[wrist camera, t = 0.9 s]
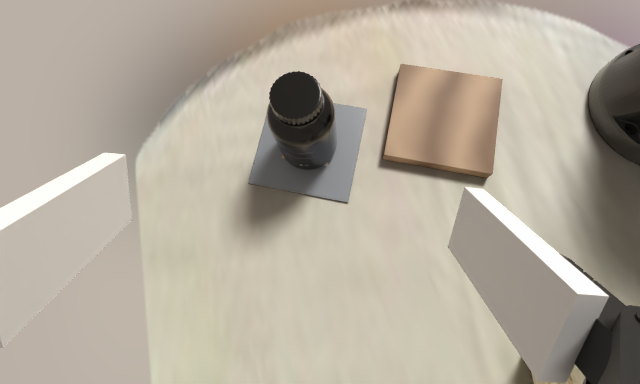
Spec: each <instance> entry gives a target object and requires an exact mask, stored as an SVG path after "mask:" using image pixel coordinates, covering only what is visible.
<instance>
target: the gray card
mask: <svg viewBox="0 0 640 384" xmlns="http://www.w3.org/2000/svg"><path fill="white" fill-rule="evenodd" d="M333 104H334V109H335V118H336V132H337V146H336V151H335V153H334V155H333V157H332V158H331V159H330V161H329V162H327V163H326V164H325V165H323V166H322V167H320V168H317V169H313V170H303V169H299V168H296V167H294V166H292V165H291V164H290V163H289V162H288V161H287V160H286V159H285V158H284V156H283V154H282V153H281V151H280V149H279V147H278V145H277V143H276V141H275V139H274V137H273V135H272V133H271V131H270V128H269V126H268V122H267V116H266V120H265V123H264V127H263V131H262V134H261V138H260V142H259V145H258V149H257V153H256V156H255V160H254V164H253V167H252V171H251V174H250V178H249V182H248V183H250V184H255V185H260V186H265V187H270V188H275V189H280V190H285V191H290V192H296V193H301V194H306V195H311V196H316V197H321V198H326V199H331V200H336V201H342V202H347V203H348V201H349V196H350V191H351V186H352V181H353V176H354V171H355V166H356V161H357V156H358V151H359V146H360V141H361V136H362V131H363V126H364V121H365V116H366V111H367V109H365V108H359V107H353V106H347V105H341V104H335V103H333Z"/></svg>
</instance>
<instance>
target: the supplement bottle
mask: <svg viewBox="0 0 640 384" xmlns="http://www.w3.org/2000/svg"><path fill="white" fill-rule="evenodd" d="M269 94H270V97H269V99H270V103H269V105H268V109H267V122H268V126H269V128H270V131H271V133H272V135H273V137H274V139H275V141H276V143H277V145H278V147H279V149H280V151H281V153H282V154H283V156H284V158H285V159H286V160H287V161H288V162H289V163H290V164H291V165H292V166H294V167H296V168H299V169H303V170H313V169H317V168H320V167H322V166H323V165H325V164H326V163H327V162H329V161H330V159H331V158H332V157H333V155H334V153H335V151H336V146H337V132H336V118H335V109H334V104H333V102H332V100H331V98H330V96H329V95H328V94H327V92H326V91H324V90H323V89H322V88H321V87H320V84H319V83H318V82H317V80H316V79H315V78H314V77H313V76H310V75H309V74H306V73H304V72H299V71H298V72H292V73H290V72H289V73H287V74H284V75H283V76H281V77H279V79H277V80H276V81H275V83H274V84H273V86H272V87H271V91H270V93H269Z"/></svg>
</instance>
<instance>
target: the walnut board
mask: <svg viewBox="0 0 640 384" xmlns="http://www.w3.org/2000/svg"><path fill="white" fill-rule="evenodd" d="M501 87H502V79H499V78H492V77H486V76H479V75H472V74H465V73H459V72H452V71H445V70H439V69H432V68H425V67H419V66H412V65H405V64H401V65H400V69H399V74H398V79H397V85H396V90H395V96H394V101H393V107H392V112H391V118H390V123H389V128H388V134H387V139H386V145H385V150H384V156H383V159H385V160H390V161H396V162H401V163H407V164H413V165H418V166H424V167H429V168H435V169H440V170H446V171H452V172H457V173H463V174H468V175H474V176H479V177H485V178H488V177H489V176H490V175H492V173H493V164H494V154H495V145H496V135H497V126H498V116H499V106H500V97H501Z"/></svg>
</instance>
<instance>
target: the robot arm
mask: <svg viewBox="0 0 640 384" xmlns="http://www.w3.org/2000/svg"><path fill="white" fill-rule="evenodd" d="M589 109H590V114H591V117H592V120H593V122H594V125H595V127H596V128H597V130H598V132H599V133H600V135H601V136H602V137H603V139H604V140H605V141H606V142H607V143H608V144H609V145H610V146H611V147H612V148H613V149H614V150H616V151H617V152H618V153H620V154H621V155H622V156H624V157H626V158H627V159H629V160H631V161H633V162H635V163H637V164H640V44H638V45H636V46H634V47H631V48H629V49H627V50H625V51H624V52H622V53H620V54H619V55H618V56H616V57H615V58H614V59H613V60H611V61H610V62H609V63H608V64H607V65H606V66H604V67H603V68H602V69H601V70H600V71H599V73H598V74H597V75H596V77H595V78H594V80H593V82H592V85H591V88H590V92H589ZM131 220H132V217H131V206H130V195H129V185H128V174H127V164H126V155H124V154H114V153H103V154H101V155H99V156H98V157H95V158H94V159H92V160H90V161H88V162H86V163H84V164H83V165H80V166H79V167H77V168H75V169H73V170H71V171H69V172H67V173H65V174H64V175H62V176H60V177H58V178H56V179H54V180H52V181H51V182H49V183H47V184H45V185H43V186H41V187H39V188H37V189H36V190H34V191H32V192H30V193H28V194H26V195H24V196H23V197H21V198H19V199H17V200H15V201H13V202H11V203H9V204H7V205H6V206H4V207H2V208H0V348H3V347H4V346H5V345H6V344H7V343H9V342H10V340H12V339H13V338H14V336H15V335H17V334H18V333H19V332H20V330H22V329H23V328H24V327H25V326H26V325H27V324H28V323H29V322H30V321H31V320H32V319H33V318H34V317H35V316H36V315H37V314H38V313H39V312H40V311H41V310H42V309H43V308H44V307H45V306H46V305H47V304H48V303H49V302H50V301H51V300H52V299H53V298H54V297H55V296H56V295H57V294H58V293H59V292H60V291H61V290H62V289H63V288H64V287H65V286H66V285H67V284H68V283H69V282H70V281H71V280H72V279H73V278H74V277H75V276H76V275H77V274H78V273H79V272H80V271H81V270H82V269H83V268H84V267H85V266H86V265H87V264H88V263H89V262H90V261H91V260H92V259H93V258H94V257H95V256H96V255H97V254H98V253H99V252H100V251H101V250H102V249H103V248H104V247H105V246H106V245H107V244H108V243H109V242H110V241H111V240H112V239H113V238H114V237H115V236H116V235H117V234H118V233H119V232H120V231H121V230H122V229H123V228H124V227H125V226H126V225H127V224H128V223H130V221H131ZM448 248H449V249H450V251H451V252H452V254H453V255H454V257H455V258H456V260H457V261H458V263H459V264H460V266H461V267H462V269H463V270H464V272H465V273H466V275H467V276H468V278H469V279H470V281H471V282H472V284H473V285H474V287H475V288H476V290H477V291H478V293H479V294H480V296H481V297H482V299H483V300H484V302H485V303H486V305H487V306H488V308H489V309H490V311H491V312H492V314H493V315H494V317H495V318H496V320H497V321H498V323H499V324H500V326H501V327H502V329H503V330H504V332H505V333H506V335H507V336H508V338H509V339H510V341H511V342H512V344H513V345H514V347H515V348H516V350H517V351H518V353H519V354H520V356H521V357H522V359H523V360H524V362H525V363H526V365H527V366H528V368H529V369H530V371H531V372H532V374H533V375H534V377H535V378H536V380H537V381H542V382H558V383H566V382H567V380H568V378H569V376H570V374H571V372H572V370H573V368H574V366H575V365H576V366H577V367H578V369H579V370H580V371H581V372H582V373H583V375H584V376H585V377H586V378H585V379H584V381H583V383H582V384H640V307H638V306H631V305H630V306H625V305H624V304H623V303H622V302H621V301H619V300H618V299H617V298H616V297H615V296H613V295H612V294H611V293H610V292H609V291H608V290H606V289H605V288H604V287H603V286H602V285H600V284H599V283H598V282H597V281H593V278H592V277H591V276H590V275H588V274H587V273H586V272H583V270H582V269H581V268H580V267H579V266H578V265H576V264H575V263H574V262H573V261H572V260H570V259H569V258H567V257H565V256H563V255H561V254H560V253H558V252H557V251H555V250H554V249H553V248H552V247H551V246H550V245H548V244H547V243H546V242H545V241H544V240H543V239H541V238H540V237H539V236H538V235H537V234H536V233H534V232H533V231H532V230H531V229H530V228H529V227H527V226H526V225H525V224H524V223H523V222H521V221H520V220H519V219H518V218H517V217H516V216H514V215H513V214H512V213H511V212H510V211H509V210H507V209H506V208H505V207H504V206H503V205H502V204H500V203H499V202H498V201H497V200H496V199H494V198H493V197H492V196H491V195H490V194H489V193H487V192H486V191H485V190H484V189H478V188H468V187H465V188H464V191H463V195H462V199H461V202H460V206H459V209H458V213H457V216H456V220H455V224H454V227H453V231H452V234H451V238H450V242H449V245H448Z"/></svg>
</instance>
